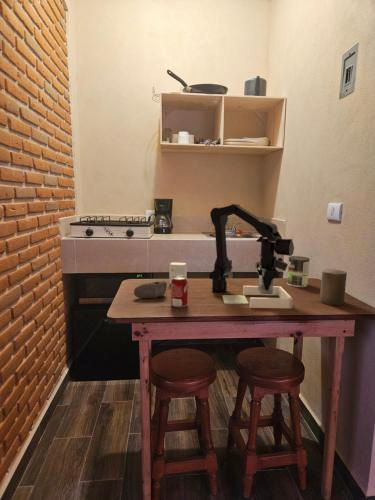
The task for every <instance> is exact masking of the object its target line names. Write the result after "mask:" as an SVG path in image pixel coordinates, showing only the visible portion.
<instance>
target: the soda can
mask: <svg viewBox="0 0 375 500" xmlns="http://www.w3.org/2000/svg"><path fill="white" fill-rule="evenodd" d="M188 283H189V282H188V280H186V277H185V276H174V277H173V280H172V281H171V284H170V295H171V296H170V304H171V307H174V308H176V307H177V309H178V308H179V309H180V308H181V309H183V308H184V307H186V306H188V298H189V297H188V291H189V289H188V288H189V287H188V286H189V285H188Z"/></svg>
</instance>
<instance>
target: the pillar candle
mask: <svg viewBox="0 0 375 500" xmlns="http://www.w3.org/2000/svg"><path fill="white" fill-rule="evenodd" d="M347 273H348V272H347V271H345V270H342V269H336V268H334V269H331V268H325V269H322V270H321V279H320V280H321V281H320V293H319V302H321V303H322V304H326V305H329V306H343V305H344V304H345V296H346V287H347V286H346V285H347V276H348V275H347Z"/></svg>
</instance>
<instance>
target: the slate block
mask: <svg viewBox="0 0 375 500" xmlns="http://www.w3.org/2000/svg"><path fill="white" fill-rule="evenodd" d="M258 286H259V288H258V291H259V292H260V293H261V294H273V286H274V279H272V282H271V284H270V287H269V290H265V286H264V283H263V280H262V277H261V275H258Z"/></svg>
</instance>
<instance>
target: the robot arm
mask: <svg viewBox="0 0 375 500" xmlns="http://www.w3.org/2000/svg"><path fill="white" fill-rule="evenodd" d="M209 215H210V220H211V223H212V225H213V227H214V234H215V235H214V236H215V247H216V248H215V249H216V250H215V251H216V258H215V262H214V265H213V270H212V271H211V272H210V273H209V274H208V275H209V279H210V280H211V292H212V293H227V290H228V289H227V288H228V286H227V285H228V282H227V280H226V278H228V277H229V275H230V273H231V272H232V269H233V265H232V264H233V261H232V260H231V259H230V260H229V257H228V253H227V248H228V247H227V235H226V226H227V223H228V219H229V216H232V215H235V216H236V217H238V218H239V219H241V220H242V221H244V222H245V223H247V224H249V225H250V226H251V227H253V228H254V229H255V231H256V232H257V233H258V234H259V235H260V236H259V238H258V239H256V240H255V241H256V242H257V243H260V253H259V255H258V256H259V258H260V260H259V261H258V260H257V261H256V262H255V266H254V268H255V269H256V271H257V274H258V276H259V275H261V277H262V280H263V283H264V286H265V290H269V287H270V284H271V282H272V279H273V280H275V278H277V279H278V278H280V272H279V271H278V270H277V269H279V270H282V271H283V272H286V270H287V269H288V263H287V262H285V261H283V259H284V258H281V257H279V256H278V257H276V255H282V256H288V257H291V256H293V255H294V251H295V246H294V242H293V241H294V240H293V238H283V237H282V236H281V234H280V232H279V229H278V226H277V224H276V223H274V222H271V221H268V220H264V219H262V218H260V217H258V216H257V215H255V214H254V213H251V212H250V211H249V210H247V209H246V208H244V207H243V206H241V205H240V204H238V203H233V204H230V205H226V206H221V207H212V209H211V210H210V214H209ZM275 253H276V255H275Z"/></svg>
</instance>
